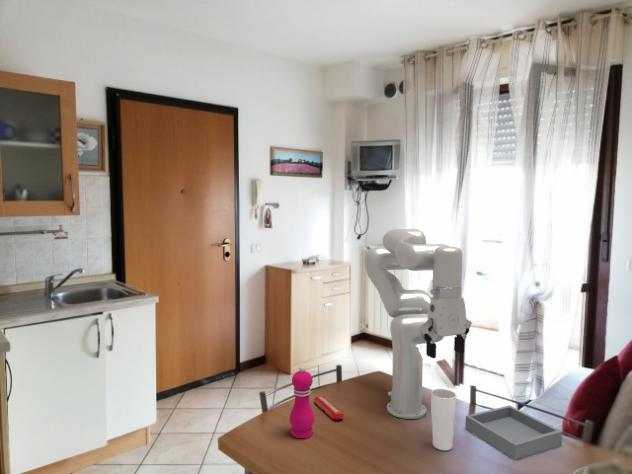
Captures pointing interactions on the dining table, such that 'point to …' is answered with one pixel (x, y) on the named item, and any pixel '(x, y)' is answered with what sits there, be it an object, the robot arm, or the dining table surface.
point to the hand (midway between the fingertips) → (445, 354)
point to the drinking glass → (443, 418)
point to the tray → (513, 431)
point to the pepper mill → (302, 405)
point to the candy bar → (329, 408)
